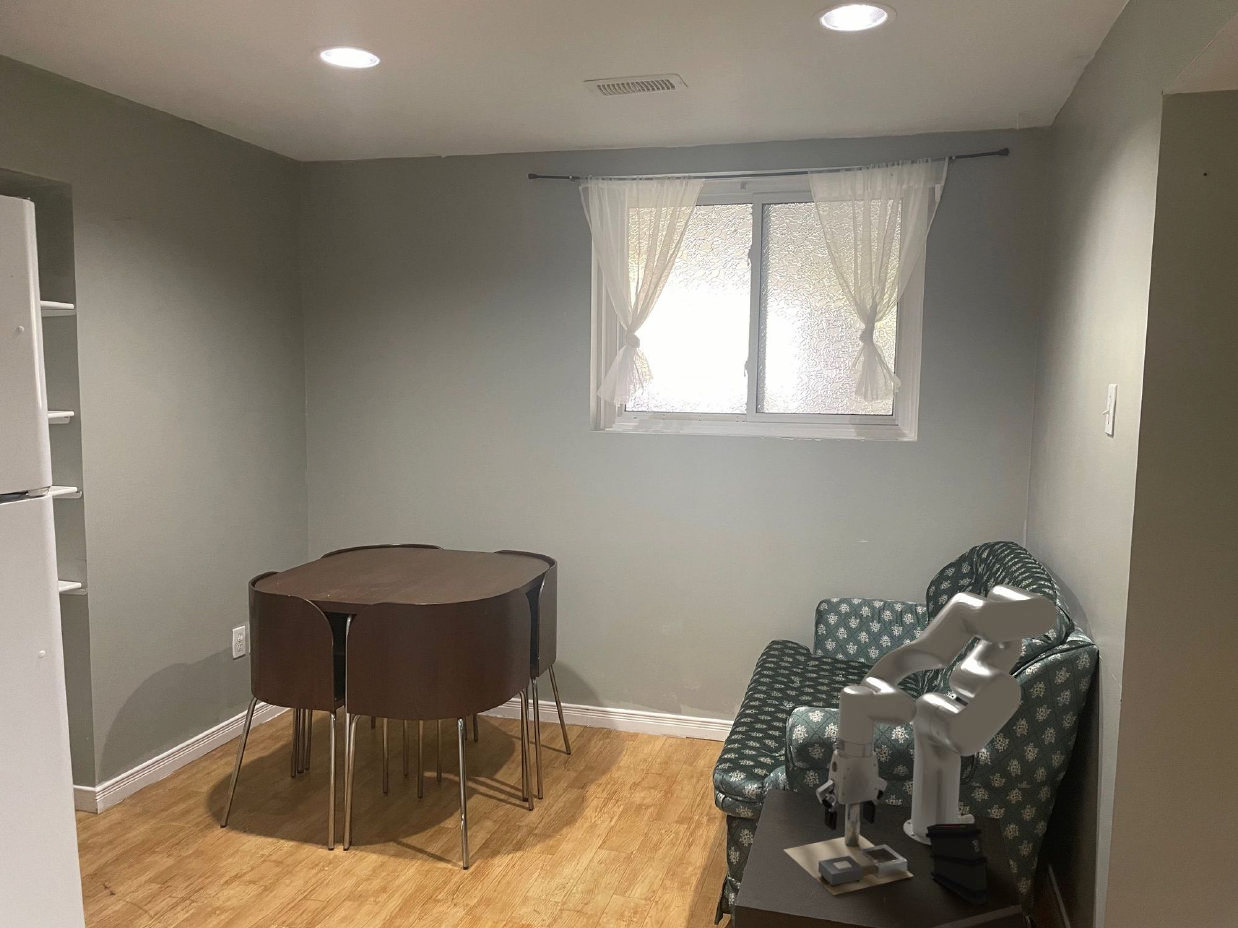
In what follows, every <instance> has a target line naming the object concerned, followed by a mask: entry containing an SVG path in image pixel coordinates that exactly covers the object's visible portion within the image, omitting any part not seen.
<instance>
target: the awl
mask: <svg viewBox="0 0 1238 928" xmlns="http://www.w3.org/2000/svg"><path fill="white" fill-rule="evenodd" d="M861 803H862V802H857V803H851V804H845V819H844V824H845V825H844V837H845V842H844V843H845V845H847V846H849V847H858V846H859V834H860V831H861V830H860V829H861V828H860V827H861V806H862V805H861Z"/></svg>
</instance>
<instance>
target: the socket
mask: <svg viewBox="0 0 1238 928" xmlns="http://www.w3.org/2000/svg"><path fill="white" fill-rule="evenodd" d="M879 860H885V861H886V862H883V863H879V862H878V861H879ZM857 863H859V864H860V865H861V866H862V867H864V868H865V869H866V870H867V871H869V872H870V873H871V874H872V875H873V876H875V877H876V878H877V879H882V878H886V877H890V876H894V875H899V874H903V873H907V871H908V860H907V859H906V858H905V857H903V856H901V855H900V854H899V853H898V852H896V851H895V850H894V849H893V848H891V847H890V846H889V845H887V844H880V845H874V847H870V848H865V849H861V850H857Z"/></svg>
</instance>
